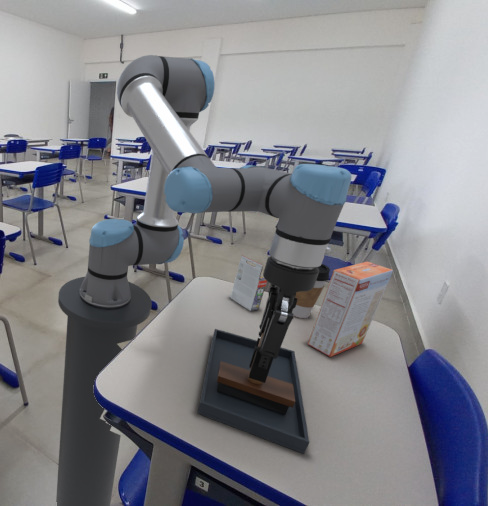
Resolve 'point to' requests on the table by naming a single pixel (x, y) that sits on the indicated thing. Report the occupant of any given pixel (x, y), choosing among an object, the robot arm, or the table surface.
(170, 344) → the table surface
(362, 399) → the table surface
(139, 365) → the table surface
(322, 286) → the coffee cup
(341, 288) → the cracker box
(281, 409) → the brush
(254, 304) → the ink box
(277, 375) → the tray
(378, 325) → the table surface
